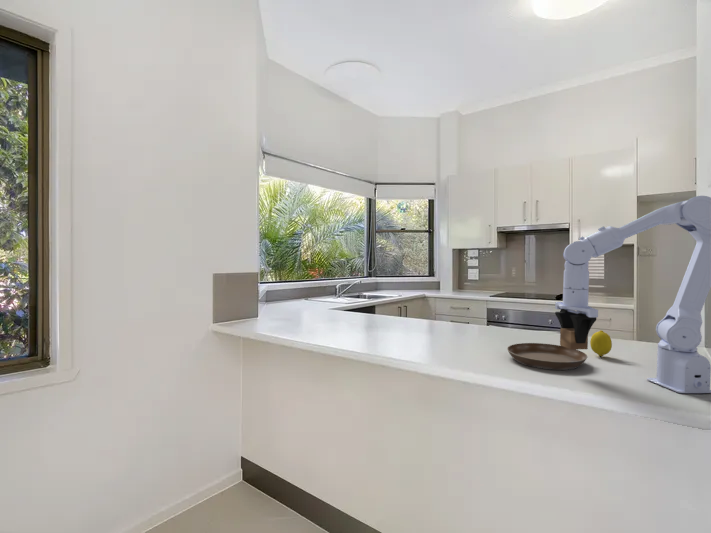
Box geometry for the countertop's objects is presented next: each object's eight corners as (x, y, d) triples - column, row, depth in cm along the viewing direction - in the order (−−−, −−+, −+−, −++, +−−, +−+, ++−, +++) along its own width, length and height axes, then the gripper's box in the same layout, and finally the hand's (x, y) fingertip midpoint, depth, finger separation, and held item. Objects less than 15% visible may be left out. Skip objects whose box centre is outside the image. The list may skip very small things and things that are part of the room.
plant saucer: (541, 375, 99) (541, 363, 99) (492, 355, 119) (492, 344, 118) (605, 370, 104) (605, 358, 104) (548, 351, 124) (548, 341, 124)
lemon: (614, 359, 114) (615, 332, 114) (594, 358, 115) (594, 331, 115) (606, 354, 120) (607, 329, 119) (586, 353, 121) (587, 328, 120)
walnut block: (587, 349, 98) (588, 331, 98) (570, 349, 98) (571, 331, 98) (576, 345, 103) (576, 328, 102) (560, 345, 102) (560, 328, 102)
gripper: (545, 286, 107) (543, 334, 107) (578, 291, 92) (577, 347, 93) (569, 286, 107) (568, 334, 108) (607, 291, 93) (605, 347, 93)
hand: (574, 340), depth 100 cm, fingers closed on walnut block, 4 cm apart
